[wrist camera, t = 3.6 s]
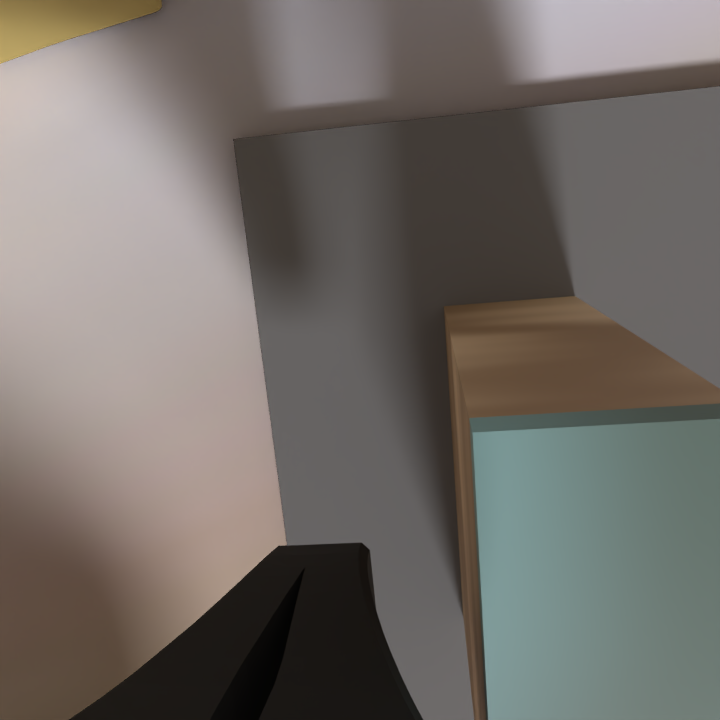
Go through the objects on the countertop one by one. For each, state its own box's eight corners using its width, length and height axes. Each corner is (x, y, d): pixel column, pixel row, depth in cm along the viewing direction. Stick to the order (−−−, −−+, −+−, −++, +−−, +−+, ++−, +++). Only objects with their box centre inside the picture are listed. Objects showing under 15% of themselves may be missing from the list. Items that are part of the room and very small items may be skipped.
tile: (463, 617, 14) (502, 995, 8) (443, 306, 13) (473, 432, 6) (579, 614, 14) (728, 1004, 7) (574, 295, 12) (763, 416, 6)
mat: (316, 735, 16) (314, 748, 16) (239, 140, 13) (233, 139, 12) (1032, 731, 14) (1050, 745, 14) (1161, 41, 11) (1188, 35, 10)
